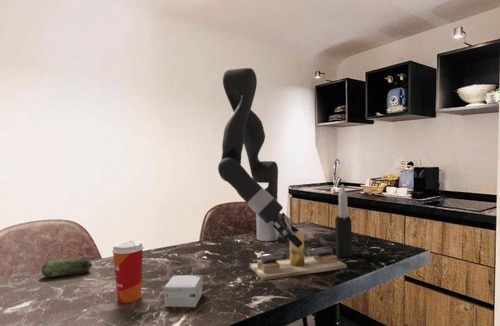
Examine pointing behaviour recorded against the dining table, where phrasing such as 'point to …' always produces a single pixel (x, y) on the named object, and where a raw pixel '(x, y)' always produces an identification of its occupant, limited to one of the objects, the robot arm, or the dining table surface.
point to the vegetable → (66, 267)
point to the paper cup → (128, 270)
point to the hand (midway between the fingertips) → (301, 242)
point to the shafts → (284, 256)
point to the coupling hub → (297, 251)
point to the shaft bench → (296, 267)
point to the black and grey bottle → (343, 228)
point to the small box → (183, 291)
